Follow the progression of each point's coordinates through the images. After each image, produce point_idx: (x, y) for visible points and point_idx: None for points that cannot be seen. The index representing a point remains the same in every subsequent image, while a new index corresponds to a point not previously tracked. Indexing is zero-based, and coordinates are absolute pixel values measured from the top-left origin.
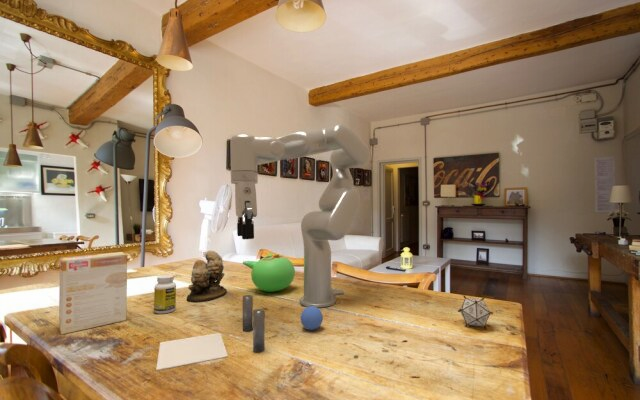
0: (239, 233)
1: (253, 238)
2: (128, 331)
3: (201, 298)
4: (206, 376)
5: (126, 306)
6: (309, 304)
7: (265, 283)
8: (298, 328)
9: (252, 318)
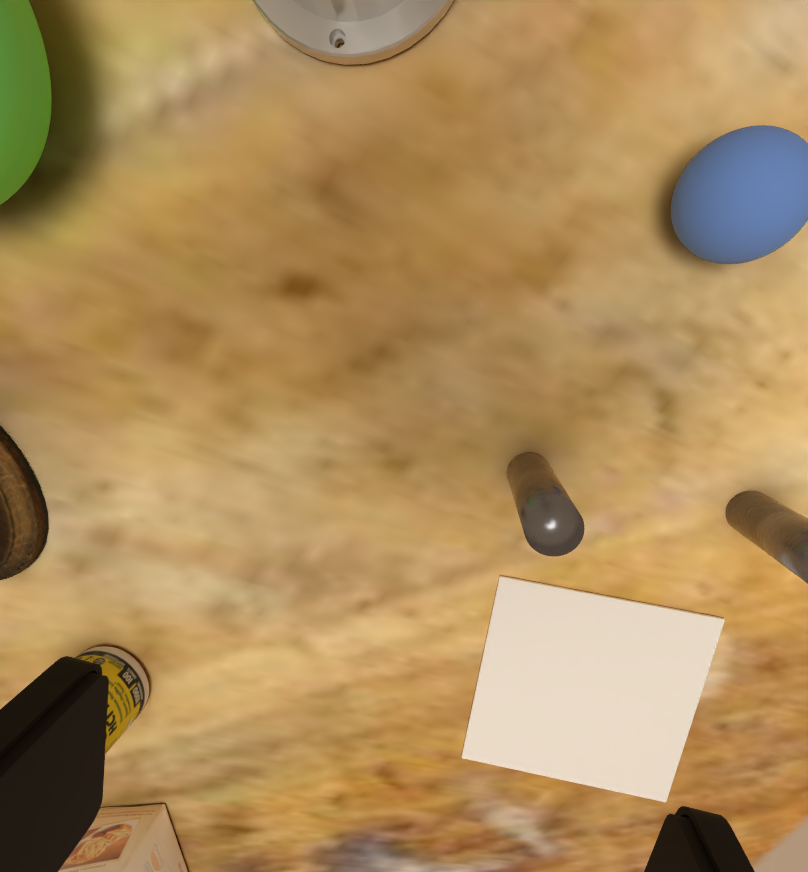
0: (72, 829)
1: (718, 816)
2: (288, 811)
3: (29, 532)
4: (804, 705)
5: (131, 853)
6: (419, 32)
7: (21, 171)
8: (660, 266)
9: (549, 469)
